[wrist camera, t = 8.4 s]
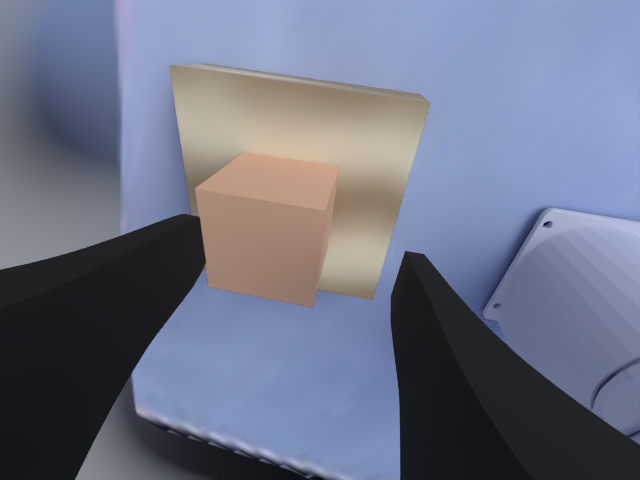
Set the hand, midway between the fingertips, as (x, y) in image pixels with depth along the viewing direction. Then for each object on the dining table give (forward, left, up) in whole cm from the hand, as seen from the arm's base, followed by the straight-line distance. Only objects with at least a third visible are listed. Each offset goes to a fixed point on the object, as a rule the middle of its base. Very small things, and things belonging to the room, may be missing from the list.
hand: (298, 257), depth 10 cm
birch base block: (-1, +2, -10) cm, 11 cm away
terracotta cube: (-1, +2, -6) cm, 7 cm away
